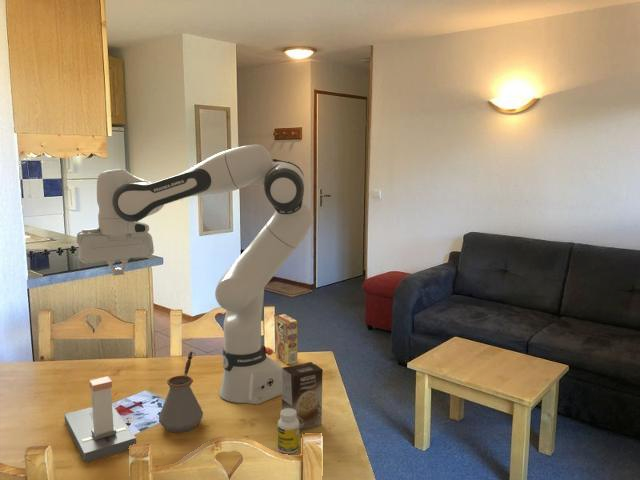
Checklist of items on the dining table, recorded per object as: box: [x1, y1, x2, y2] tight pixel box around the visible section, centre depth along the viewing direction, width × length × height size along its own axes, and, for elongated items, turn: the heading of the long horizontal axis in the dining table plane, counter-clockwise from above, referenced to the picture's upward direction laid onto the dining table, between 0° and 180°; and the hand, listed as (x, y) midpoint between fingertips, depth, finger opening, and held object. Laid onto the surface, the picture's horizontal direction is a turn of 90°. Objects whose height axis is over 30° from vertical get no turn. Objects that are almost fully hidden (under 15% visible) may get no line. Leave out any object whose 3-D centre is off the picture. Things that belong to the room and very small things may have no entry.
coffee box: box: [281, 361, 324, 432], centre depth 146 cm, size 9×6×16 cm
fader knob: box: [89, 375, 117, 440], centre depth 136 cm, size 5×4×14 cm
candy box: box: [274, 313, 298, 365], centre depth 190 cm, size 9×4×15 cm, turn 33°
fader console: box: [64, 404, 137, 464], centre depth 142 cm, size 12×23×3 cm, turn 35°
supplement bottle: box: [277, 408, 300, 454], centre depth 135 cm, size 5×5×10 cm
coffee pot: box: [158, 350, 204, 434], centre depth 150 cm, size 21×12×15 cm, turn 1°
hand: (118, 274), depth 157 cm, fingers closed
